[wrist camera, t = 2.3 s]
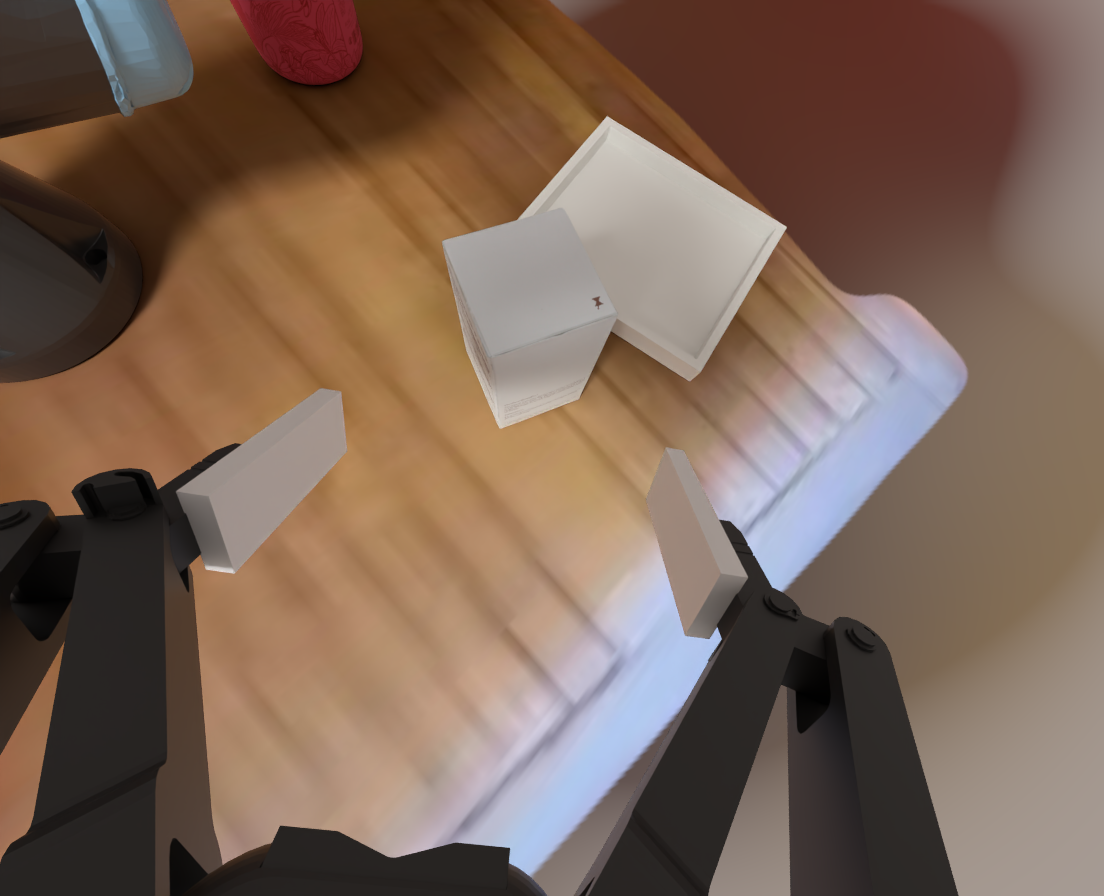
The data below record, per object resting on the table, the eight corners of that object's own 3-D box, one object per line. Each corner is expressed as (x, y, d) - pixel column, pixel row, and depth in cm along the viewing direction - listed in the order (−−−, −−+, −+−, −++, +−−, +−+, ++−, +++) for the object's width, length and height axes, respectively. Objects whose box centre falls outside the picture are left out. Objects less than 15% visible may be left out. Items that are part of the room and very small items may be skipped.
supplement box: (546, 324, 34) (568, 201, 22) (580, 401, 33) (624, 315, 20) (464, 351, 32) (438, 235, 20) (496, 431, 31) (488, 360, 19)
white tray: (498, 258, 35) (498, 242, 33) (602, 137, 39) (607, 116, 38) (689, 381, 34) (700, 372, 32) (773, 242, 39) (786, 227, 37)
